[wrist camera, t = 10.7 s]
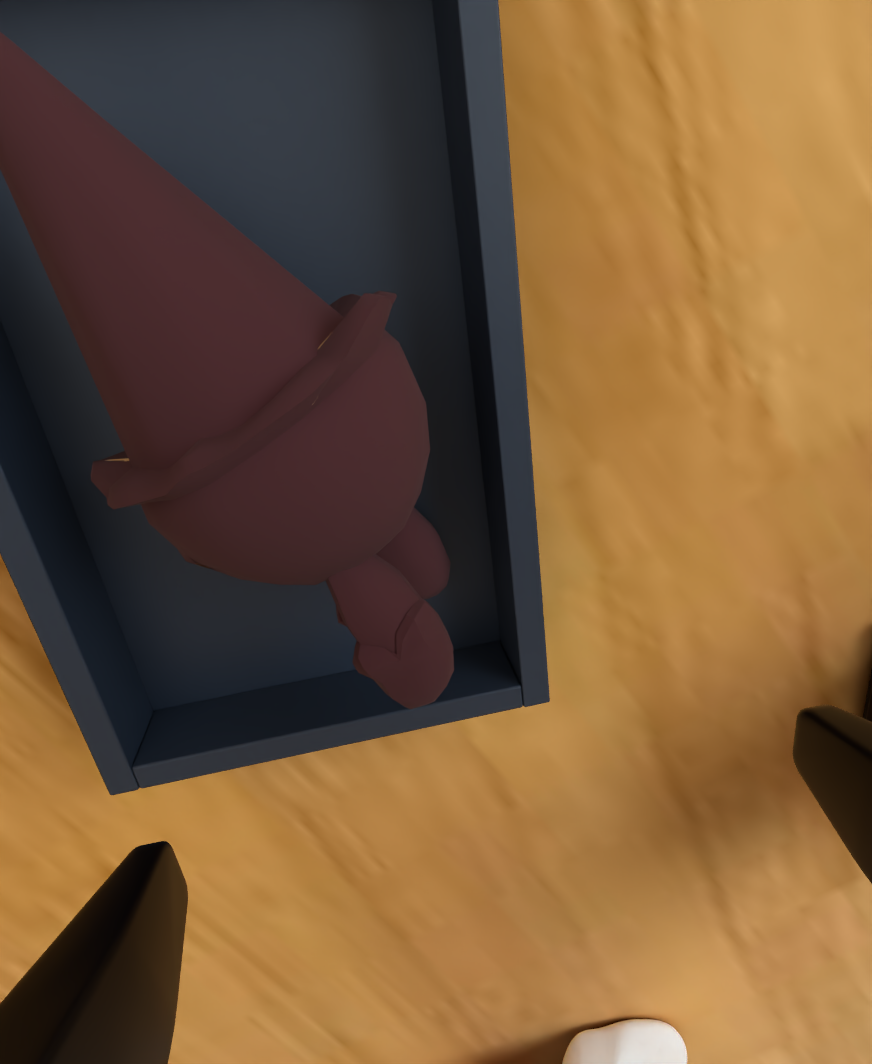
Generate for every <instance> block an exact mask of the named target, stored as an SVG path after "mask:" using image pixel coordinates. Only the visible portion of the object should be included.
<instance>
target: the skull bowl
mask: <svg viewBox="0 0 872 1064" xmlns="http://www.w3.org/2000/svg"><path fill="white" fill-rule="evenodd" d="M562 1064H687V1051H686V1046H685V1044H684V1041H683V1039H682V1037H681V1036H680V1034H679V1033H678V1032H677V1031H676V1030H675V1029H674V1028H673V1027H672V1026H671V1025H669V1024H668V1023H665V1022H662V1021H659V1020H653V1019H631V1020H625V1021H621V1022H617V1023H614V1024H611V1025H608V1026H605V1027H601V1028H597V1029H589V1030H585V1031H582V1032H580V1033H578V1034H577V1035H576V1036H575V1037H574V1038H573V1039H572V1041H571V1042H570V1044H569V1046H568V1048H567V1050H566V1053H565V1056H564V1059H563V1062H562Z"/></svg>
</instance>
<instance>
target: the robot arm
mask: <svg viewBox="0 0 872 1064" xmlns="http://www.w3.org/2000/svg"><path fill="white" fill-rule="evenodd" d="M793 759H794V763H795V765H796V767H797V769H798V771H799V773H800V775H801V776H802V778H803V779H804V781H805V782H806V784H807V786H808V787H809V789H810V790H811V792H812V794H813V795H814V797H815V798H816V800H817V801H818V803H819V805H820V806H821V808H822V809H823V811H824V812H825V814H826V816H827V817H828V819H829V820H830V822H831V824H832V825H833V827H834V828H835V830H836V831H837V833H838V835H839V836H840V838H841V839H842V841H843V842H844V844H845V846H846V847H847V849H848V850H849V852H850V853H851V855H852V856H853V858H854V859H855V861H856V862H857V864H858V865H859V867H860V868H861V870H862V871H863V873H864V874H865V875H866V877H867V878H868V879H869V881H870V882H871V883H872V670H871V676H870V682H869V687H868V693H867V699H866V704H865V710H864V716H863V718H861V717H859V716H856V715H854V714H852V713H849V712H847V711H844V710H842V709H840V708H837V707H835V706H832V705H820V706H815V707H810V708H805V709H803V710H801V711H800V712H799V714H798V716H797V721H796V729H795V737H794V745H793ZM187 903H188V891H187V884H186V881H185V878H184V876H183V873H182V871H181V868H180V866H179V863H178V861H177V858H176V856H175V853H174V851H173V848H172V847H171V845H170V844H169V843H168V842H166V841H161V842H156V843H151V844H146V845H142V846H138V847H136V848H135V849H133V850H132V851H131V852H130V853H129V854H128V856H127V857H126V858H125V859H124V860H123V861H122V863H121V864H120V865H119V866H118V867H117V868H116V870H115V871H114V872H113V873H112V874H111V875H110V877H109V878H108V879H107V880H106V881H105V882H104V884H103V885H102V886H101V887H100V888H99V889H98V890H97V892H96V893H95V894H94V895H93V896H92V897H91V899H90V900H89V901H88V902H87V903H86V904H85V906H84V907H83V908H82V909H81V910H80V911H79V913H78V914H77V915H76V916H75V917H74V918H73V920H72V921H71V922H70V923H69V924H68V925H67V927H66V928H65V929H64V930H63V931H62V932H61V933H60V935H59V936H58V937H57V938H56V939H55V940H54V942H53V943H52V944H51V945H50V946H49V947H48V949H47V950H46V951H45V952H44V953H43V954H42V956H41V957H40V958H39V959H38V960H37V961H36V963H35V964H34V965H33V966H32V967H31V968H30V970H29V971H28V972H27V973H26V974H25V975H24V976H23V978H22V979H21V980H20V981H19V982H18V983H17V985H16V986H15V987H14V988H13V989H12V990H11V992H10V993H9V994H8V995H7V996H6V997H5V999H4V1000H3V1001H2V1002H1V1003H0V1064H168V1059H169V1054H170V1049H171V1043H172V1038H173V1032H174V1026H175V1018H176V1010H177V1001H178V991H179V981H180V972H181V962H182V952H183V942H184V933H185V923H186V913H187Z"/></svg>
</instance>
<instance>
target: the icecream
mask: <svg viewBox="0 0 872 1064" xmlns="http://www.w3.org/2000/svg"><path fill="white" fill-rule="evenodd" d="M0 170H1V172H2V174H3V176H4V179H5V181H6V183H7V185H8V188H9V190H10V192H11V194H12V197H13V199H14V201H15V203H16V206H17V208H18V210H19V212H20V215H21V217H22V219H23V221H24V224H25V226H26V228H27V230H28V233H29V235H30V237H31V239H32V242H33V244H34V246H35V249H36V251H37V253H38V255H39V258H40V260H41V262H42V264H43V267H44V269H45V271H46V273H47V276H48V278H49V280H50V282H51V285H52V287H53V289H54V291H55V294H56V296H57V298H58V301H59V303H60V305H61V307H62V310H63V312H64V314H65V316H66V319H67V321H68V323H69V325H70V328H71V330H72V332H73V334H74V337H75V339H76V341H77V343H78V346H79V348H80V350H81V352H82V355H83V357H84V359H85V362H86V364H87V366H88V368H89V371H90V373H91V375H92V377H93V380H94V382H95V384H96V386H97V389H98V391H99V393H100V395H101V398H102V400H103V402H104V404H105V407H106V409H107V411H108V413H109V416H110V418H111V420H112V423H113V425H114V427H115V429H116V432H117V434H118V436H119V438H120V441H121V443H122V445H123V447H124V450H125V451H123V452H120V453H117V454H115V455H112V456H110V457H107V458H104V459H102V460H97V461H93V464H92V470H91V481H92V482H93V483H94V484H95V486H96V487H97V488H98V489H99V490H100V491H101V492H102V493H103V494H104V495H105V496H106V498H107V504H108V506H110V507H111V508H112V509H118V508H123V507H129V506H134V505H139V504H141V506H142V509H143V511H144V513H145V516H146V518H147V521H148V523H149V524H150V525H151V526H152V527H153V528H155V529H156V530H157V531H158V532H159V533H160V534H161V535H162V536H164V537H165V538H166V539H167V540H168V541H169V542H170V543H171V544H172V545H174V546H175V547H176V548H177V549H178V551H179V553H180V554H181V555H182V557H183V558H184V559H185V561H186V562H189V563H192V564H195V565H198V566H201V567H204V568H208V569H212V570H215V571H218V572H220V573H223V574H226V575H229V576H232V577H235V578H237V579H241V580H248V581H256V582H263V583H270V584H278V585H317V584H319V583H321V582H323V581H325V580H326V583H327V585H328V587H329V590H330V592H331V594H332V597H333V599H334V601H335V604H336V612H337V618H338V623H340V624H342V625H344V626H346V627H348V629H349V630H350V632H351V633H352V635H353V636H354V637H355V639H356V640H357V641H356V645H355V649H354V656H353V662H352V663H353V665H354V666H355V668H356V670H357V671H358V673H360V674H362V675H365V676H367V677H369V678H371V679H373V680H374V681H375V682H376V683H377V684H378V686H379V687H380V688H381V689H382V690H383V691H384V692H385V693H386V694H387V695H388V696H389V697H391V698H392V699H393V700H395V701H396V702H398V703H400V704H401V705H403V706H404V707H406V708H409V709H413V708H417V707H420V706H424V705H427V704H430V703H432V702H434V701H435V700H436V699H437V698H438V697H439V695H440V694H441V693H442V692H443V690H444V689H445V688H446V687H447V684H448V682H449V680H450V678H451V676H452V673H453V671H454V657H453V645H452V643H451V640H450V637H449V635H448V632H447V630H446V628H445V626H444V624H443V622H442V620H441V618H440V616H439V615H438V613H437V612H436V611H435V610H434V609H433V608H432V606H431V605H430V604H429V603H428V602H427V601H426V600H424V599H429V598H431V597H433V596H436V595H438V594H439V593H440V592H441V591H442V590H443V589H444V588H445V587H446V586H447V583H448V579H449V574H450V563H451V562H450V560H449V557H448V555H447V553H446V551H445V548H444V546H443V544H442V542H441V539H440V537H439V535H438V533H437V531H436V530H435V528H434V527H433V525H432V524H431V523H430V522H429V521H428V520H427V519H426V518H425V517H424V516H423V515H422V514H421V513H420V512H419V511H418V510H417V509H415V508H414V506H415V504H416V501H417V499H418V497H419V495H420V493H421V489H422V485H423V480H424V475H425V471H426V466H427V462H428V457H429V453H430V442H429V431H428V420H427V409H426V402H425V400H424V397H423V395H422V393H421V391H420V388H419V386H418V384H417V381H416V379H415V377H414V375H413V372H412V370H411V368H410V366H409V363H408V361H407V359H406V356H405V354H404V352H403V350H402V348H401V346H400V344H399V342H398V341H397V340H396V339H395V338H394V337H392V336H391V335H390V334H389V333H388V332H387V331H386V330H385V326H386V323H387V320H388V317H389V314H390V311H391V308H392V305H393V303H394V301H395V299H396V297H397V295H396V294H395V293H390V292H384V291H377V292H375V293H373V294H371V293H364V294H363V295H362V296H360V295H355V294H349V295H346V296H342V297H341V298H339V299H338V300H336V301H335V302H333V303H332V304H330V305H328V304H327V303H326V302H325V301H323V300H322V299H321V298H320V297H319V296H317V295H316V294H315V293H314V292H313V291H311V290H310V289H309V288H308V287H306V286H305V285H304V284H303V283H302V282H300V281H299V280H298V279H297V278H296V277H294V276H293V275H292V274H291V273H290V272H288V271H287V270H286V269H285V268H283V267H282V266H281V265H280V264H279V263H277V262H276V261H275V260H274V259H273V258H271V257H270V256H269V255H268V254H267V253H265V252H264V251H263V250H262V249H261V248H259V247H258V246H257V245H256V244H254V243H253V242H252V241H251V240H250V239H248V238H247V237H246V236H245V235H244V234H242V233H241V232H240V231H239V230H238V229H236V228H235V227H234V226H233V225H231V224H230V223H229V222H228V221H227V220H225V219H224V218H223V217H222V216H221V215H219V214H218V213H217V212H216V211H215V210H213V209H212V208H211V207H210V206H208V205H207V204H206V203H205V202H204V201H202V200H201V199H200V198H199V197H198V196H196V195H195V194H194V193H193V192H192V191H190V190H189V189H188V188H187V187H185V186H184V185H183V184H182V183H181V182H179V181H178V180H177V179H176V178H175V177H173V176H172V175H171V174H170V173H169V172H167V171H166V170H165V169H164V168H163V167H161V166H160V165H159V164H158V163H156V162H155V161H154V160H153V159H152V158H150V157H149V156H148V155H147V154H146V153H144V152H143V151H142V150H141V149H140V148H138V147H137V146H136V145H135V144H133V143H132V142H131V141H130V140H129V139H127V138H126V137H125V136H124V135H123V134H121V133H120V132H119V131H118V130H117V129H115V128H114V127H113V126H112V125H110V124H109V123H108V122H107V121H106V120H105V119H103V118H102V117H101V116H100V115H99V114H97V113H96V112H95V111H94V110H93V109H92V108H90V107H89V106H88V105H87V104H86V103H84V102H83V101H82V100H81V99H80V98H79V97H77V96H76V95H75V94H74V93H73V92H71V91H70V90H69V89H68V88H67V87H66V86H64V85H63V84H62V83H61V82H60V81H58V80H57V79H56V78H55V77H54V76H53V75H51V74H50V73H49V72H48V71H47V70H45V69H44V68H43V67H42V66H41V65H40V64H38V63H37V62H36V61H35V60H34V59H32V58H31V57H30V56H29V55H28V54H27V53H25V52H24V51H23V50H22V49H21V48H19V47H18V46H17V45H16V44H15V43H14V42H12V41H11V40H10V39H9V38H7V37H6V36H5V35H4V34H2V33H1V32H0Z"/></svg>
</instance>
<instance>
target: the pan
mask: <svg viewBox="0 0 872 1064" xmlns="http://www.w3.org/2000/svg"><path fill="white" fill-rule="evenodd" d="M0 32H1V33H2V34H4V35H5V36H6V37H7V38H9V39H10V40H11V41H12V42H14V43H15V44H16V45H17V46H18V47H19V48H21V49H22V50H23V51H24V52H25V53H27V54H28V55H29V56H30V57H31V58H32V59H34V60H35V61H36V62H37V63H38V64H40V65H41V66H42V67H43V68H44V69H45V70H47V71H48V72H49V73H50V74H51V75H53V76H54V77H55V78H56V79H57V80H58V81H60V82H61V83H62V84H63V85H64V86H66V87H67V88H68V89H69V90H70V91H71V92H73V93H74V94H75V95H76V96H77V97H79V98H80V99H81V100H82V101H83V102H84V103H86V104H87V105H88V106H89V107H90V108H92V109H93V110H94V111H95V112H96V113H97V114H99V115H100V116H101V117H102V118H103V119H105V120H106V121H107V122H108V123H109V124H110V125H112V126H113V127H114V128H115V129H117V130H118V131H119V132H120V133H121V134H123V135H124V136H125V137H126V138H127V139H129V140H130V141H131V142H132V143H133V144H135V145H136V146H137V147H138V148H140V149H141V150H142V151H143V152H144V153H146V154H147V155H148V156H149V157H150V158H152V159H153V160H154V161H155V162H156V163H158V164H159V165H160V166H161V167H163V168H164V169H165V170H166V171H167V172H169V173H170V174H171V175H172V176H173V177H175V178H176V179H177V180H178V181H179V182H181V183H182V184H183V185H184V186H185V187H187V188H188V189H189V190H190V191H192V192H193V193H194V194H195V195H196V196H198V197H199V198H200V199H201V200H202V201H204V202H205V203H206V204H207V205H208V206H210V207H211V208H212V209H213V210H215V211H216V212H217V213H218V214H219V215H221V216H222V217H223V218H224V219H225V220H227V221H228V222H229V223H230V224H231V225H233V226H234V227H235V228H236V229H238V230H239V231H240V232H241V233H242V234H244V235H245V236H246V237H247V238H248V239H250V240H251V241H252V242H253V243H254V244H256V245H257V246H258V247H259V248H261V249H262V250H263V251H264V252H265V253H267V254H268V255H269V256H270V257H271V258H273V259H274V260H275V261H276V262H277V263H279V264H280V265H281V266H282V267H283V268H285V269H286V270H287V271H288V272H290V273H291V274H292V275H293V276H294V277H296V278H297V279H298V280H299V281H300V282H302V283H303V284H304V285H305V286H306V287H308V288H309V289H310V290H311V291H313V292H314V293H315V294H316V295H317V296H319V297H320V298H321V299H322V300H323V301H325V302H326V303H327V304H328V305H330V304H332V303H333V302H335V301H336V300H338V299H339V298H341V297H342V296H346V295H349V294H355V295H360V296H362V295H363V294H364V293H371V294H373V293H375V292H377V291H384V292H390V293H395V294H396V295H397V297H396V299H395V301H394V303H393V305H392V308H391V311H390V314H389V317H388V320H387V323H386V326H385V330H386V331H387V332H388V333H389V334H390V335H391V336H392V337H394V338H395V339H396V340H397V341H398V342H399V344H400V346H401V348H402V350H403V352H404V354H405V356H406V359H407V361H408V363H409V366H410V368H411V370H412V372H413V375H414V377H415V379H416V381H417V384H418V386H419V388H420V391H421V393H422V395H423V397H424V400H425V402H426V409H427V420H428V431H429V442H430V453H429V457H428V462H427V466H426V471H425V475H424V480H423V485H422V489H421V493H420V495H419V497H418V499H417V501H416V504H415V506H414V508H415V509H417V510H418V511H419V512H420V513H421V514H422V515H423V516H424V517H425V518H426V519H427V520H428V521H429V522H430V523H431V524H432V525H433V527H434V528H435V530H436V531H437V533H438V535H439V537H440V539H441V542H442V544H443V546H444V548H445V551H446V553H447V555H448V557H449V560H450V562H451V563H450V574H449V579H448V583H447V586H446V587H445V588H444V589H443V590H442V591H441V592H440V593H439V594H438V595H436V596H433V597H431V598H429V599H424V600H426V601H427V602H428V603H429V604H430V605H431V606H432V608H433V609H434V610H435V611H436V612H437V613H438V615H439V616H440V618H441V620H442V622H443V624H444V626H445V628H446V630H447V632H448V635H449V637H450V640H451V643H452V645H453V657H454V671H453V673H452V676H451V678H450V680H449V682H448V684H447V687H446V688H445V689H444V690H443V692H442V693H441V694H440V695H439V697H438V698H437V699H436V700H435V701H434V702H432V703H430V704H427V705H424V706H420V707H417V708H413V709H409V708H406V707H404V706H403V705H401V704H400V703H398V702H396V701H395V700H393V699H392V698H391V697H389V696H388V695H387V694H386V693H385V692H384V691H383V690H382V689H381V688H380V687H379V686H378V684H377V683H376V682H375V681H374V680H373V679H371V678H369V677H367V676H365V675H362V674H360V673H358V671H357V670H356V668H355V666H354V665H353V663H352V662H353V656H354V649H355V645H356V641H357V640H356V639H355V637H354V636H353V635H352V633H351V632H350V630H349V629H348V627H346V626H344V625H342V624H340V623H338V618H337V612H336V604H335V601H334V599H333V597H332V594H331V592H330V590H329V587H328V585H327V583H326V580H325V581H323V582H321V583H319V584H317V585H278V584H270V583H263V582H256V581H248V580H241V579H237V578H235V577H232V576H229V575H226V574H223V573H220V572H218V571H215V570H212V569H208V568H204V567H201V566H198V565H195V564H192V563H189V562H186V561H185V559H184V558H183V557H182V555H181V554H180V553H179V551H178V549H177V548H176V547H175V546H174V545H172V544H171V543H170V542H169V541H168V540H167V539H166V538H165V537H164V536H162V535H161V534H160V533H159V532H158V531H157V530H156V529H155V528H153V527H152V526H151V525H150V524H149V523H148V521H147V518H146V516H145V513H144V511H143V509H142V506H141V504H139V505H134V506H129V507H123V508H118V509H112V508H111V507H110V506H108V504H107V498H106V496H105V495H104V494H103V493H102V492H101V491H100V490H99V489H98V488H97V487H96V486H95V484H94V483H93V482H92V481H91V470H92V464H93V461H97V460H102V459H104V458H107V457H110V456H112V455H115V454H117V453H120V452H123V451H125V450H124V447H123V445H122V443H121V441H120V438H119V436H118V434H117V432H116V429H115V427H114V425H113V423H112V420H111V418H110V416H109V413H108V411H107V409H106V407H105V404H104V402H103V400H102V398H101V395H100V393H99V391H98V389H97V386H96V384H95V382H94V380H93V377H92V375H91V373H90V371H89V368H88V366H87V364H86V362H85V359H84V357H83V355H82V352H81V350H80V348H79V346H78V343H77V341H76V339H75V337H74V334H73V332H72V330H71V328H70V325H69V323H68V321H67V319H66V316H65V314H64V312H63V310H62V307H61V305H60V303H59V301H58V298H57V296H56V294H55V291H54V289H53V287H52V285H51V282H50V280H49V278H48V276H47V273H46V271H45V269H44V267H43V264H42V262H41V260H40V258H39V255H38V253H37V251H36V249H35V246H34V244H33V242H32V239H31V237H30V235H29V233H28V230H27V228H26V226H25V224H24V221H23V219H22V217H21V215H20V212H19V210H18V208H17V206H16V203H15V201H14V199H13V197H12V194H11V192H10V190H9V188H8V185H7V183H6V181H5V179H4V176H3V174H2V172H1V170H0V554H1V556H2V558H3V561H4V563H5V565H6V567H7V569H8V572H9V574H10V576H11V578H12V580H13V583H14V585H15V587H16V589H17V591H18V594H19V596H20V598H21V600H22V602H23V605H24V607H25V609H26V611H27V613H28V616H29V618H30V620H31V622H32V624H33V626H34V629H35V631H36V633H37V635H38V637H39V640H40V642H41V644H42V646H43V648H44V651H45V653H46V655H47V657H48V659H49V662H50V664H51V666H52V668H53V670H54V673H55V675H56V677H57V679H58V681H59V684H60V686H61V688H62V690H63V692H64V695H65V697H66V699H67V701H68V703H69V706H70V708H71V710H72V712H73V714H74V717H75V719H76V721H77V723H78V725H79V728H80V730H81V732H82V734H83V736H84V739H85V741H86V743H87V745H88V747H89V750H90V752H91V754H92V756H93V758H94V761H95V763H96V765H97V767H98V769H99V772H100V774H101V776H102V778H103V780H104V783H105V785H106V787H107V789H108V791H109V793H110V795H115V794H120V793H125V792H129V791H134V790H138V789H139V787H140V788H146V787H151V786H156V785H160V784H165V783H170V782H174V781H179V780H184V779H188V778H193V777H198V776H202V775H207V774H212V773H216V772H221V771H226V770H230V769H235V768H240V767H244V766H249V765H254V764H258V763H263V762H268V761H272V760H277V759H282V758H286V757H291V756H296V755H300V754H305V753H310V752H314V751H319V750H324V749H328V748H333V747H338V746H342V745H347V744H352V743H356V742H361V741H366V740H370V739H375V738H380V737H384V736H389V735H394V734H399V733H403V732H408V731H413V730H417V729H422V728H427V727H431V726H436V725H441V724H445V723H450V722H455V721H459V720H464V719H469V718H473V717H478V716H483V715H487V714H492V713H497V712H501V711H506V710H511V709H515V708H520V707H522V706H524V707H527V706H532V705H537V704H541V703H546V702H549V701H550V698H549V684H548V671H547V657H546V643H545V630H544V616H543V603H542V589H541V576H540V562H539V548H538V535H537V521H536V508H535V494H534V481H533V467H532V454H531V440H530V426H529V413H528V399H527V386H526V372H525V359H524V345H523V331H522V318H521V304H520V291H519V277H518V264H517V250H516V237H515V223H514V209H513V196H512V182H511V169H510V155H509V142H508V128H507V114H506V101H505V87H504V74H503V60H502V47H501V33H500V19H499V6H498V0H0Z"/></svg>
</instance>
